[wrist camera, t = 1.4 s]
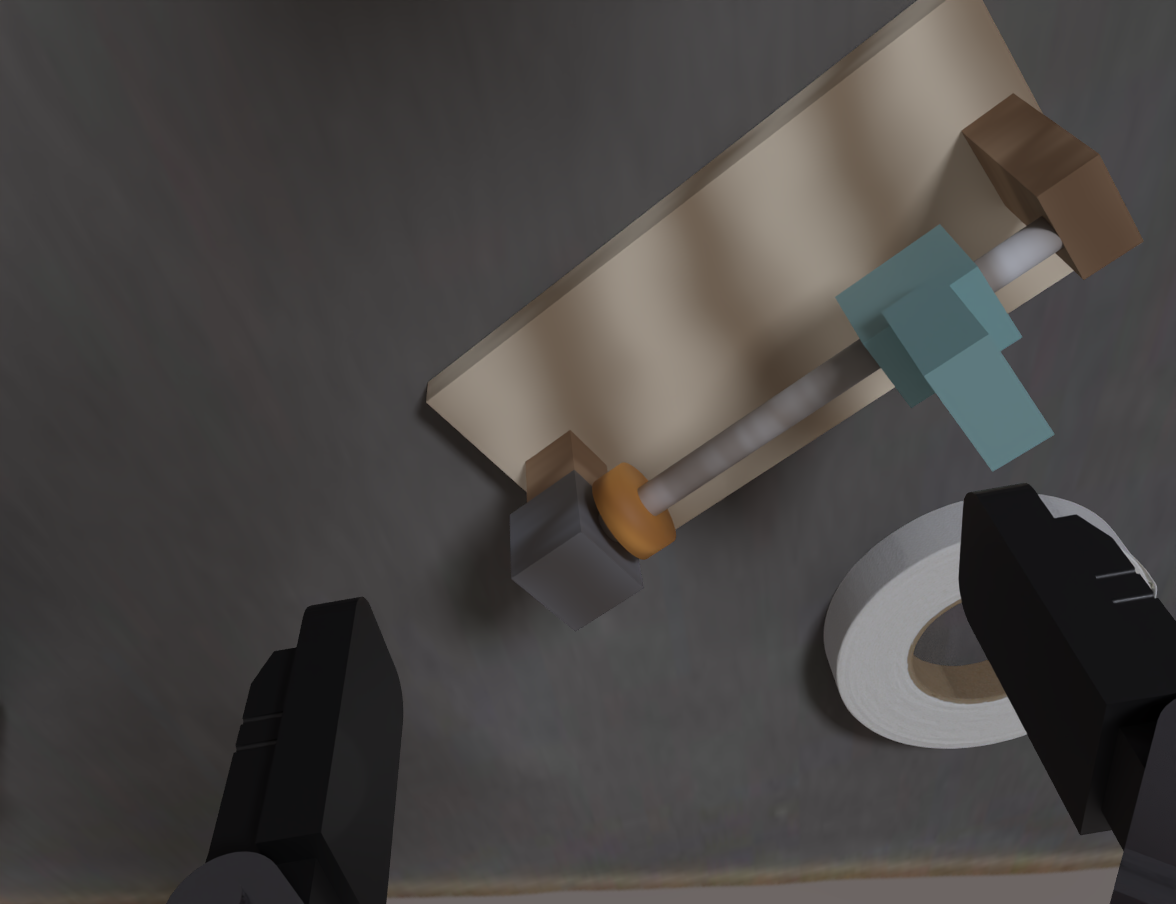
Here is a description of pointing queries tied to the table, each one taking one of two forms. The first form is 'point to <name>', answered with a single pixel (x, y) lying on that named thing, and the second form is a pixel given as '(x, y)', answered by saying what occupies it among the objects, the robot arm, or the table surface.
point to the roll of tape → (896, 622)
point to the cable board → (766, 297)
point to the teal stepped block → (947, 343)
